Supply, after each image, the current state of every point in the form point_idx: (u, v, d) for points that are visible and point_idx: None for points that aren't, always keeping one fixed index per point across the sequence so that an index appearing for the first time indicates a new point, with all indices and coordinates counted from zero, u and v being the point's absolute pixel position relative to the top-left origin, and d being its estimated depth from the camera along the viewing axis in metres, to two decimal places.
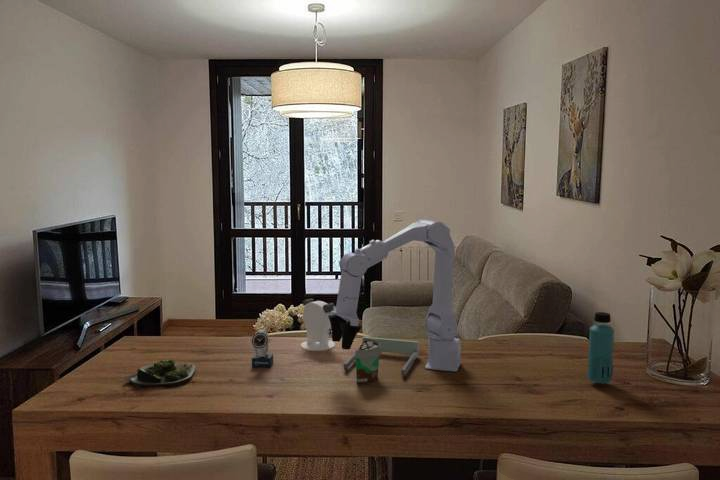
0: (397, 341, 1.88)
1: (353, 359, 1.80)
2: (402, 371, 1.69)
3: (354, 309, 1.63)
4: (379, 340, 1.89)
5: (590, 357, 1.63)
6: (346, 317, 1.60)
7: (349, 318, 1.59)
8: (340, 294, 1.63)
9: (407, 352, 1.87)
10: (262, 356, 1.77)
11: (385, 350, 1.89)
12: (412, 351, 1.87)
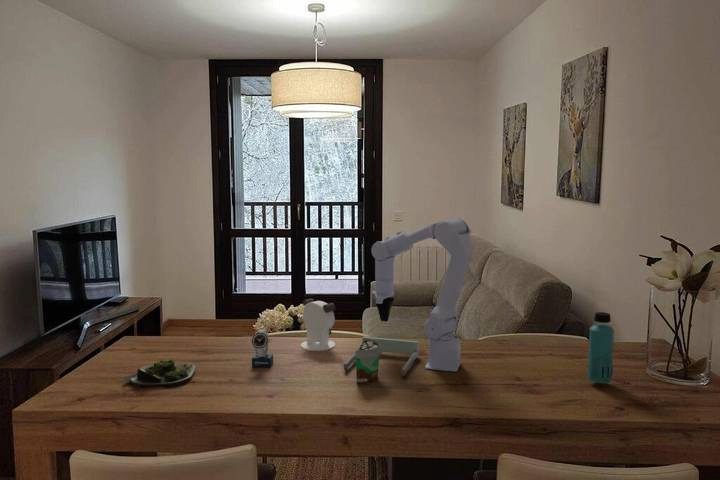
0: (397, 341, 1.88)
1: (353, 359, 1.80)
2: (402, 371, 1.69)
3: (386, 289, 1.87)
4: (379, 340, 1.89)
5: (590, 357, 1.63)
6: None
7: (376, 297, 1.84)
8: None
9: (407, 352, 1.87)
10: (262, 356, 1.77)
11: (385, 350, 1.89)
12: (412, 351, 1.87)
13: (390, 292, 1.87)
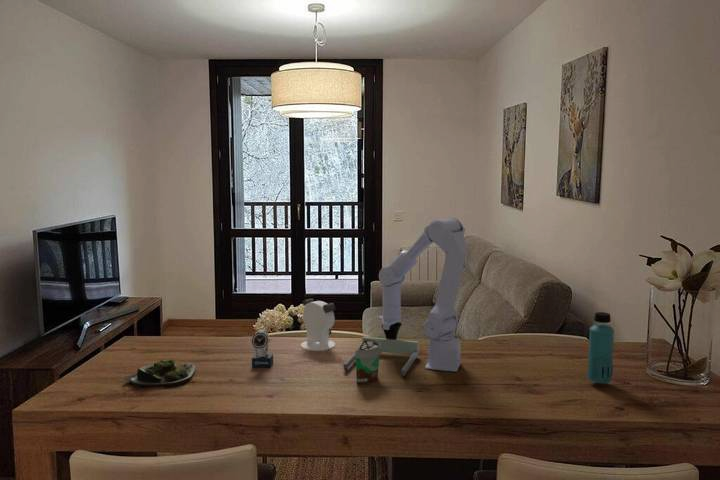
0: (397, 341, 1.88)
1: (353, 359, 1.80)
2: (402, 371, 1.69)
3: (393, 315, 1.87)
4: (379, 340, 1.89)
5: (590, 357, 1.63)
6: None
7: (383, 323, 1.85)
8: None
9: (407, 352, 1.87)
10: (262, 356, 1.77)
11: (385, 350, 1.89)
12: (412, 351, 1.86)
13: (397, 318, 1.87)
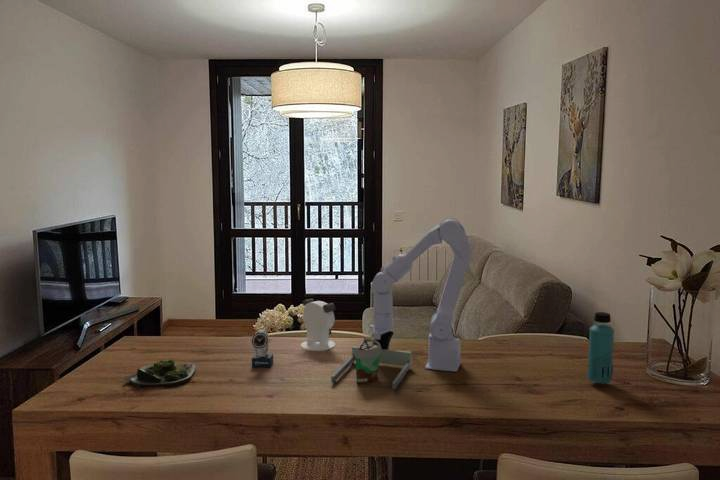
0: (389, 351, 1.78)
1: (342, 371, 1.70)
2: (393, 384, 1.59)
3: (385, 323, 1.77)
4: None
5: (590, 357, 1.63)
6: None
7: (373, 332, 1.75)
8: (373, 310, 1.79)
9: (399, 363, 1.77)
10: (262, 356, 1.77)
11: None
12: (404, 362, 1.77)
13: (389, 326, 1.78)
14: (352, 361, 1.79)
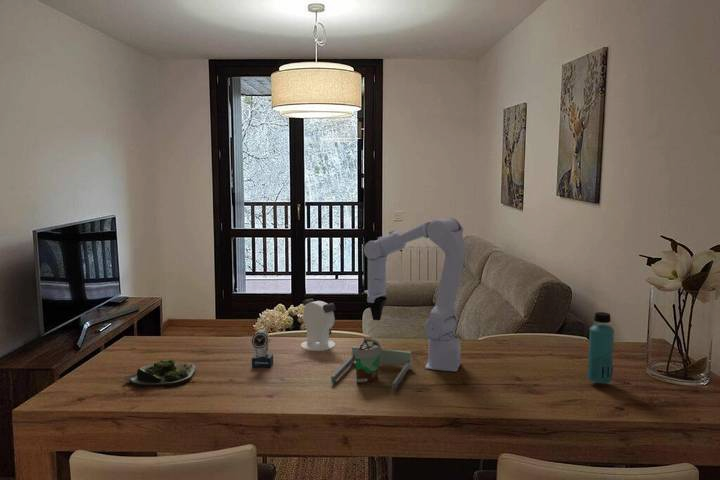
0: (389, 351, 1.78)
1: (342, 371, 1.70)
2: (393, 384, 1.59)
3: (378, 288, 1.88)
4: None
5: (590, 357, 1.63)
6: None
7: (368, 296, 1.85)
8: None
9: (399, 363, 1.77)
10: (262, 356, 1.77)
11: None
12: (404, 362, 1.77)
13: (382, 291, 1.88)
14: (352, 361, 1.79)
